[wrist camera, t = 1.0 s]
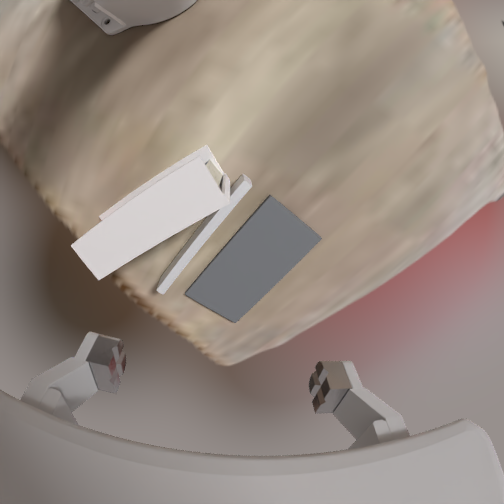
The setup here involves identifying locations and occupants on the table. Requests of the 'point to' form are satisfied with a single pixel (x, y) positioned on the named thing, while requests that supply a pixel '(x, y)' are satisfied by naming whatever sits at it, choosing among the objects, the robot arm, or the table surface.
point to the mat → (253, 260)
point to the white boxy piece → (155, 212)
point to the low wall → (203, 234)
